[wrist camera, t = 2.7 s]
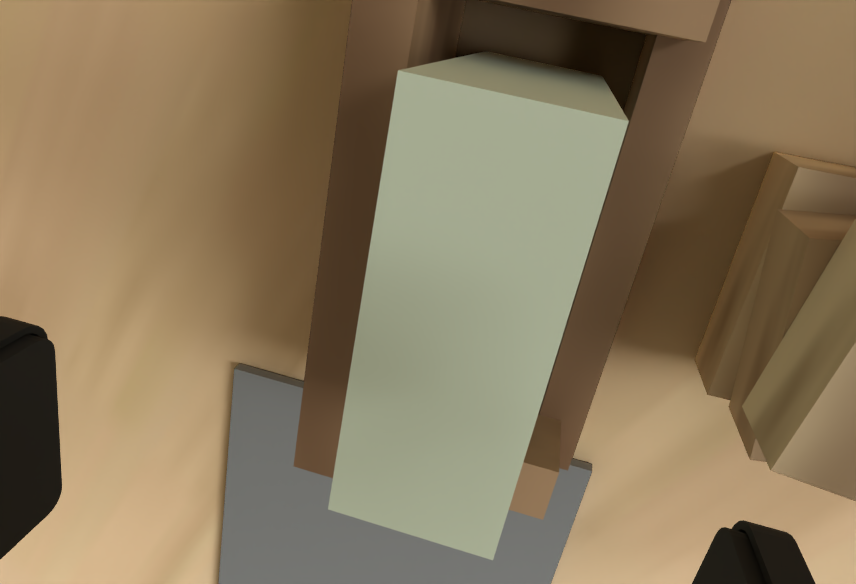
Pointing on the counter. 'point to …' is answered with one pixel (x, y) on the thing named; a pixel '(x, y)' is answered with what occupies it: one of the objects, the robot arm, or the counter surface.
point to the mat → (344, 535)
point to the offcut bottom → (781, 189)
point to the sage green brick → (469, 288)
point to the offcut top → (814, 385)
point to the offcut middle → (783, 297)
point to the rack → (613, 238)
